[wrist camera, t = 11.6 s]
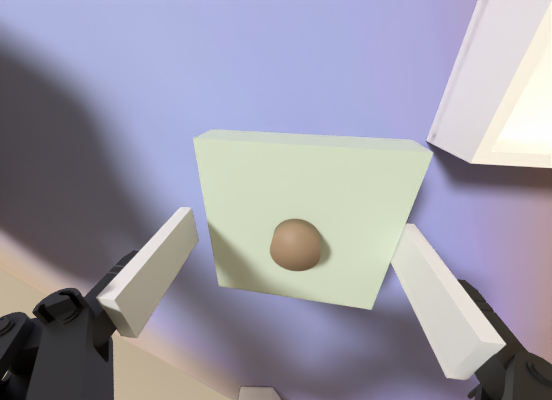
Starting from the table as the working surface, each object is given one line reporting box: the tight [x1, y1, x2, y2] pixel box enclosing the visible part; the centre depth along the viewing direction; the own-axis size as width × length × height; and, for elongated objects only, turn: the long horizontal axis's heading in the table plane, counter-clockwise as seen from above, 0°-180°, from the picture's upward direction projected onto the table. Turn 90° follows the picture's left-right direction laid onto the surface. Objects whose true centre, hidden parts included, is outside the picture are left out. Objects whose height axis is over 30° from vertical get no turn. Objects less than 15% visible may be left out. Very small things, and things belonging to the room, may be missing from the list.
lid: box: [193, 129, 433, 310], centre depth 14 cm, size 12×12×4 cm
